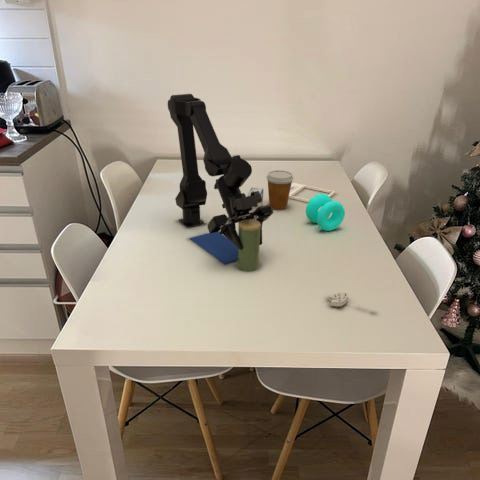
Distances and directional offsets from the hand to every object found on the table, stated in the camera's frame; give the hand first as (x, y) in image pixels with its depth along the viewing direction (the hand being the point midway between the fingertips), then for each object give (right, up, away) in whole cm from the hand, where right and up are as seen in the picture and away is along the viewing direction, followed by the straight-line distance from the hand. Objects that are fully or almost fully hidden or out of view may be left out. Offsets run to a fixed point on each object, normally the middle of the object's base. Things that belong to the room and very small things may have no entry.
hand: (251, 247), depth 136 cm
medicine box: (+2, +16, +36) cm, 40 cm away
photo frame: (+22, +28, +54) cm, 65 cm away
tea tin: (-1, -5, +5) cm, 7 cm away
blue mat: (-9, +2, +14) cm, 17 cm away
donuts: (+25, +11, +29) cm, 40 cm away
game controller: (+24, -17, -12) cm, 32 cm away
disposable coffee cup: (+11, +21, +43) cm, 49 cm away
